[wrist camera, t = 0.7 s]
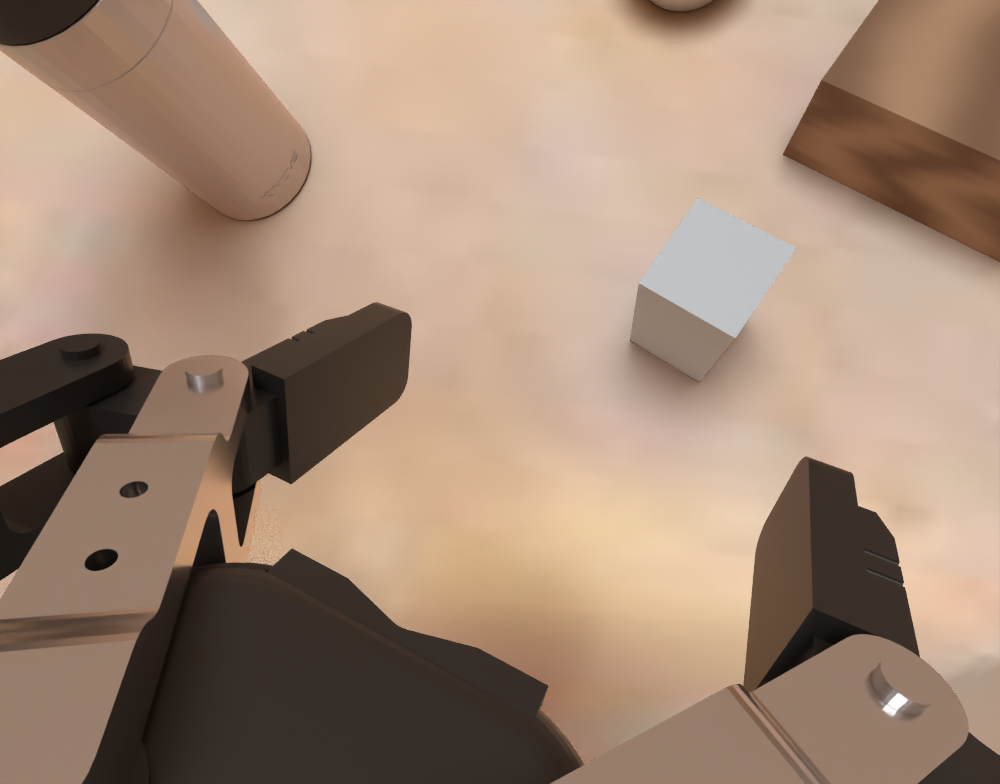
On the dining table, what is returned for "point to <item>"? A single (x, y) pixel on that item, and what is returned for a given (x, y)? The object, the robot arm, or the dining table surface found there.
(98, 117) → the robot arm
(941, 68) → the pedestal
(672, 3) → the cupcake
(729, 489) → the dining table surface
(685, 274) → the slate block
